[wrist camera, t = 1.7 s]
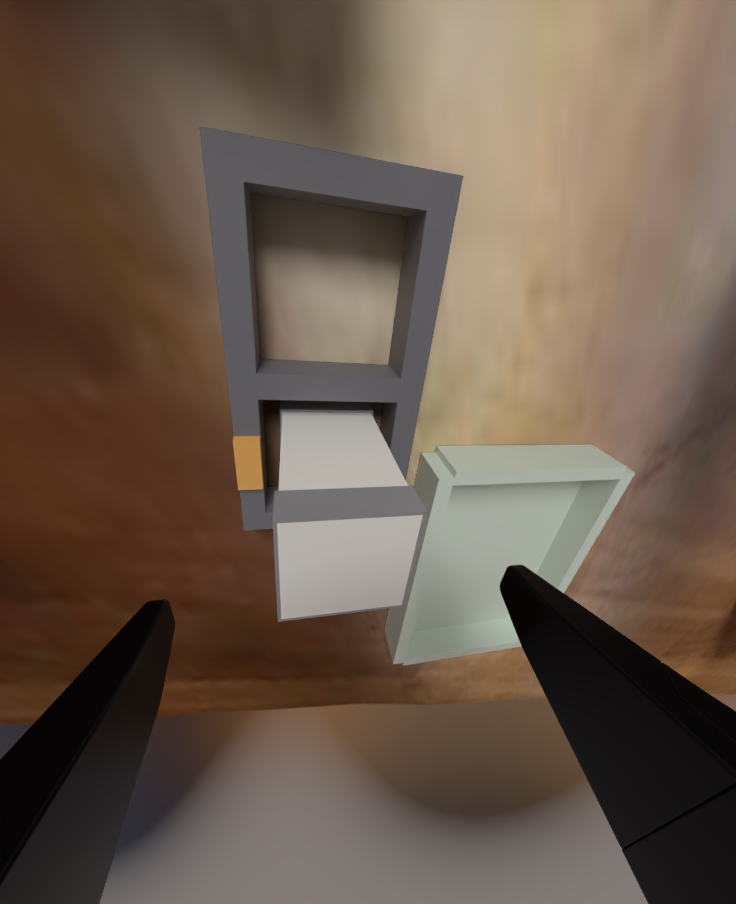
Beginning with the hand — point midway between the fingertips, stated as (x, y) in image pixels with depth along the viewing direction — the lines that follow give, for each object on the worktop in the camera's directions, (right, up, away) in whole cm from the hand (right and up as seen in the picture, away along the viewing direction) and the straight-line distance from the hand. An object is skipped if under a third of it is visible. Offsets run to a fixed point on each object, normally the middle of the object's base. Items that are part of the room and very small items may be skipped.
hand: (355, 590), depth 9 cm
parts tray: (+8, -3, +14) cm, 16 cm away
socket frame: (-2, +7, +6) cm, 9 cm away
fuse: (-2, +4, +7) cm, 9 cm away
